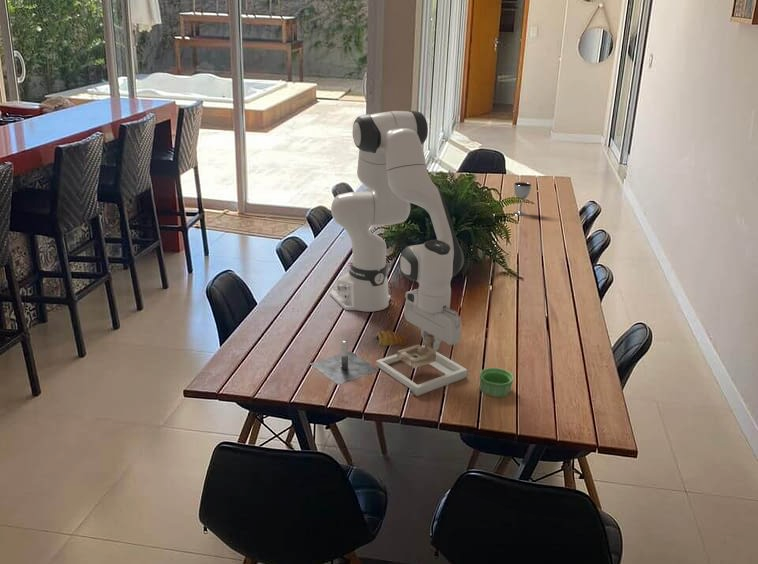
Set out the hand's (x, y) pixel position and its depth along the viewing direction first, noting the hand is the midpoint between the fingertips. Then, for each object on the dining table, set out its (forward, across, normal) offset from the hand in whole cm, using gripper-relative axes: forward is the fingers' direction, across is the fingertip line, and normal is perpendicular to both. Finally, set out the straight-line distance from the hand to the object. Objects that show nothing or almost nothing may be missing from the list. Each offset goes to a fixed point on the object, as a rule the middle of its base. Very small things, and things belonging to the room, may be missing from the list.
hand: (430, 346), depth 197 cm
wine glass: (+7, +97, -143) cm, 173 cm away
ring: (+3, 0, +4) cm, 5 cm away
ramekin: (+8, -18, -8) cm, 21 cm away
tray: (+8, 0, +3) cm, 8 cm away
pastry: (+8, +20, -1) cm, 21 cm away
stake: (+8, +13, +20) cm, 25 cm away
